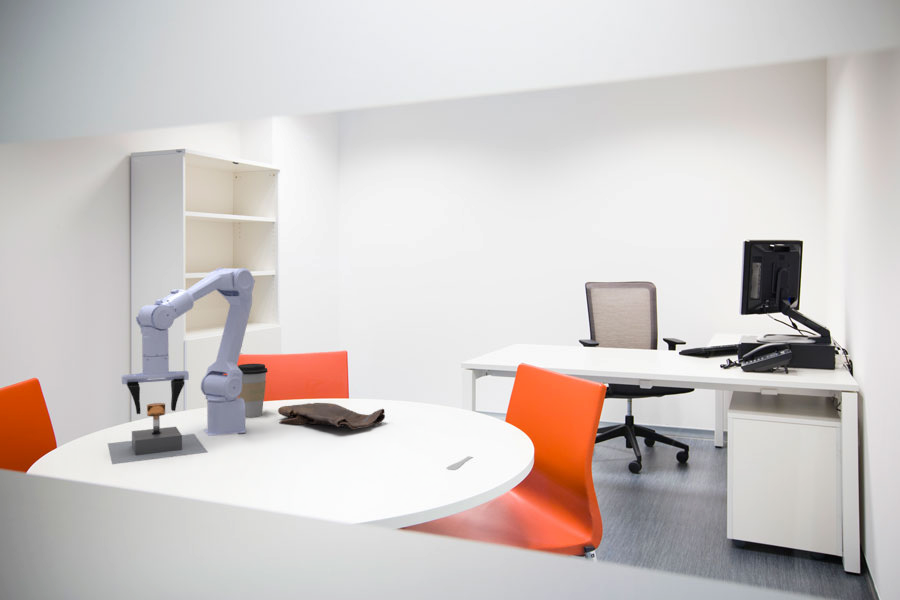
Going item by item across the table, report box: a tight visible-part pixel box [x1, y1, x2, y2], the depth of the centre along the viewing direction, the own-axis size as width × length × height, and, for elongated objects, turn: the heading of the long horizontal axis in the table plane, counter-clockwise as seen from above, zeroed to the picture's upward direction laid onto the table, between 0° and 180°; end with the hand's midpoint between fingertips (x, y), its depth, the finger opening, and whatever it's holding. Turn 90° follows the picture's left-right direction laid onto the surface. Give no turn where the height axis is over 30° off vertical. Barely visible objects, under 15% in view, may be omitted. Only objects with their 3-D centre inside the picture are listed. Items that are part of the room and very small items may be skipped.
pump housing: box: [131, 426, 183, 455], centre depth 157 cm, size 10×10×4 cm
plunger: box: [146, 402, 166, 434], centre depth 157 cm, size 4×4×7 cm
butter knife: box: [446, 456, 474, 471], centre depth 153 cm, size 1×24×3 cm
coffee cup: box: [237, 363, 268, 418], centre depth 196 cm, size 9×9×15 cm
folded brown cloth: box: [277, 402, 386, 430], centre depth 187 cm, size 32×20×5 cm, turn 51°
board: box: [107, 433, 208, 465], centre depth 157 cm, size 20×20×1 cm
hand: (156, 411), depth 157 cm, fingers open, 7 cm apart
